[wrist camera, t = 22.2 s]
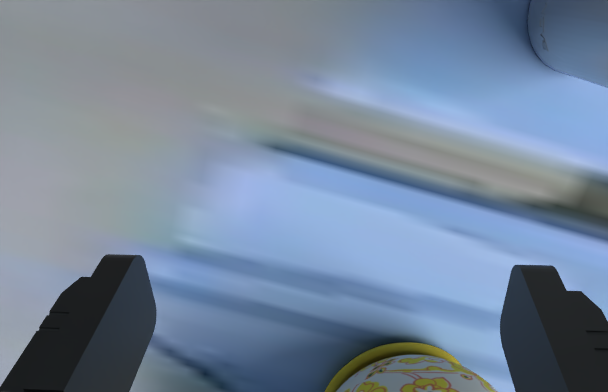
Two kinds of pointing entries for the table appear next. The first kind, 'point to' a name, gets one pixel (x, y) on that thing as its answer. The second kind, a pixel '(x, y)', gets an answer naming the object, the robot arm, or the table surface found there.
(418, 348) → the flowerpot
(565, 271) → the table surface
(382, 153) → the table surface
